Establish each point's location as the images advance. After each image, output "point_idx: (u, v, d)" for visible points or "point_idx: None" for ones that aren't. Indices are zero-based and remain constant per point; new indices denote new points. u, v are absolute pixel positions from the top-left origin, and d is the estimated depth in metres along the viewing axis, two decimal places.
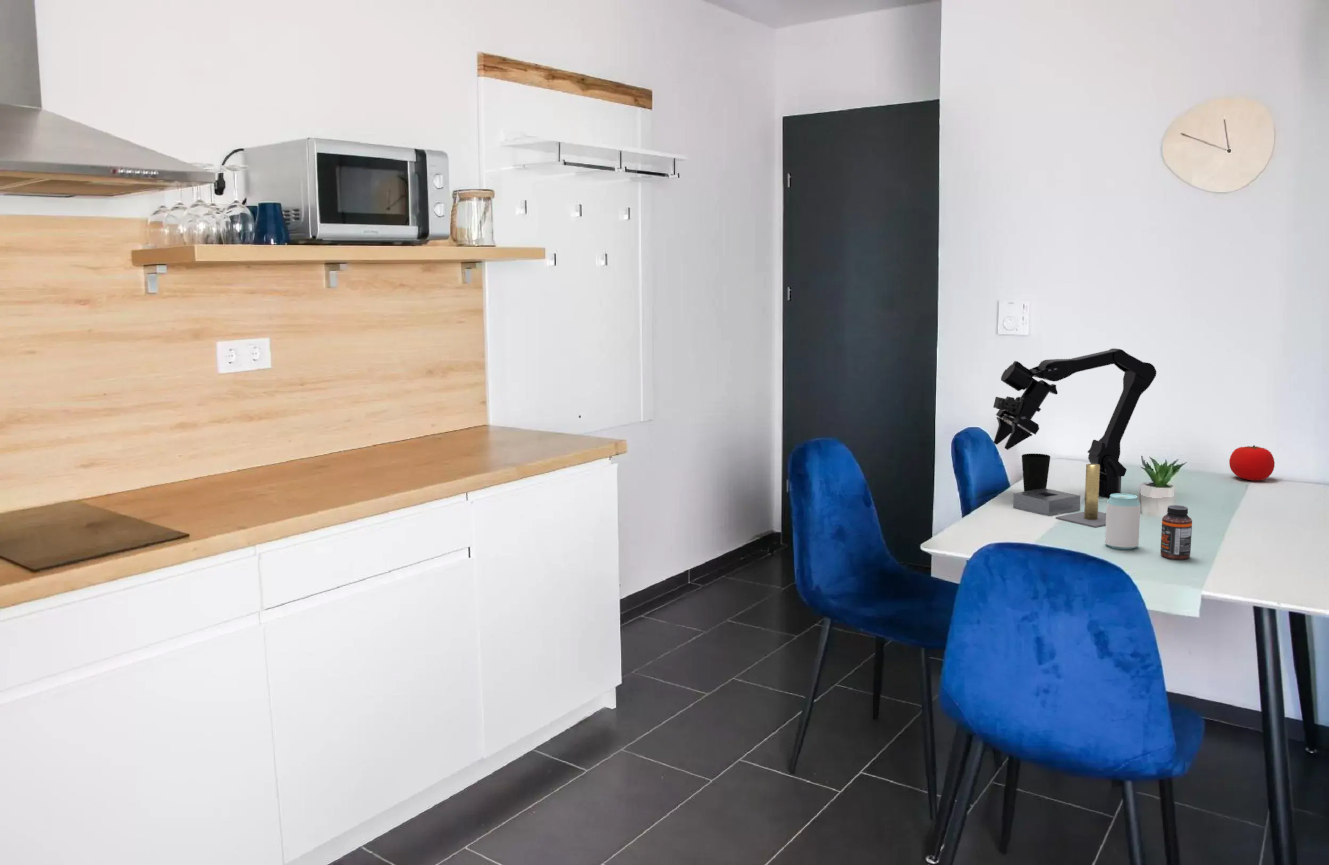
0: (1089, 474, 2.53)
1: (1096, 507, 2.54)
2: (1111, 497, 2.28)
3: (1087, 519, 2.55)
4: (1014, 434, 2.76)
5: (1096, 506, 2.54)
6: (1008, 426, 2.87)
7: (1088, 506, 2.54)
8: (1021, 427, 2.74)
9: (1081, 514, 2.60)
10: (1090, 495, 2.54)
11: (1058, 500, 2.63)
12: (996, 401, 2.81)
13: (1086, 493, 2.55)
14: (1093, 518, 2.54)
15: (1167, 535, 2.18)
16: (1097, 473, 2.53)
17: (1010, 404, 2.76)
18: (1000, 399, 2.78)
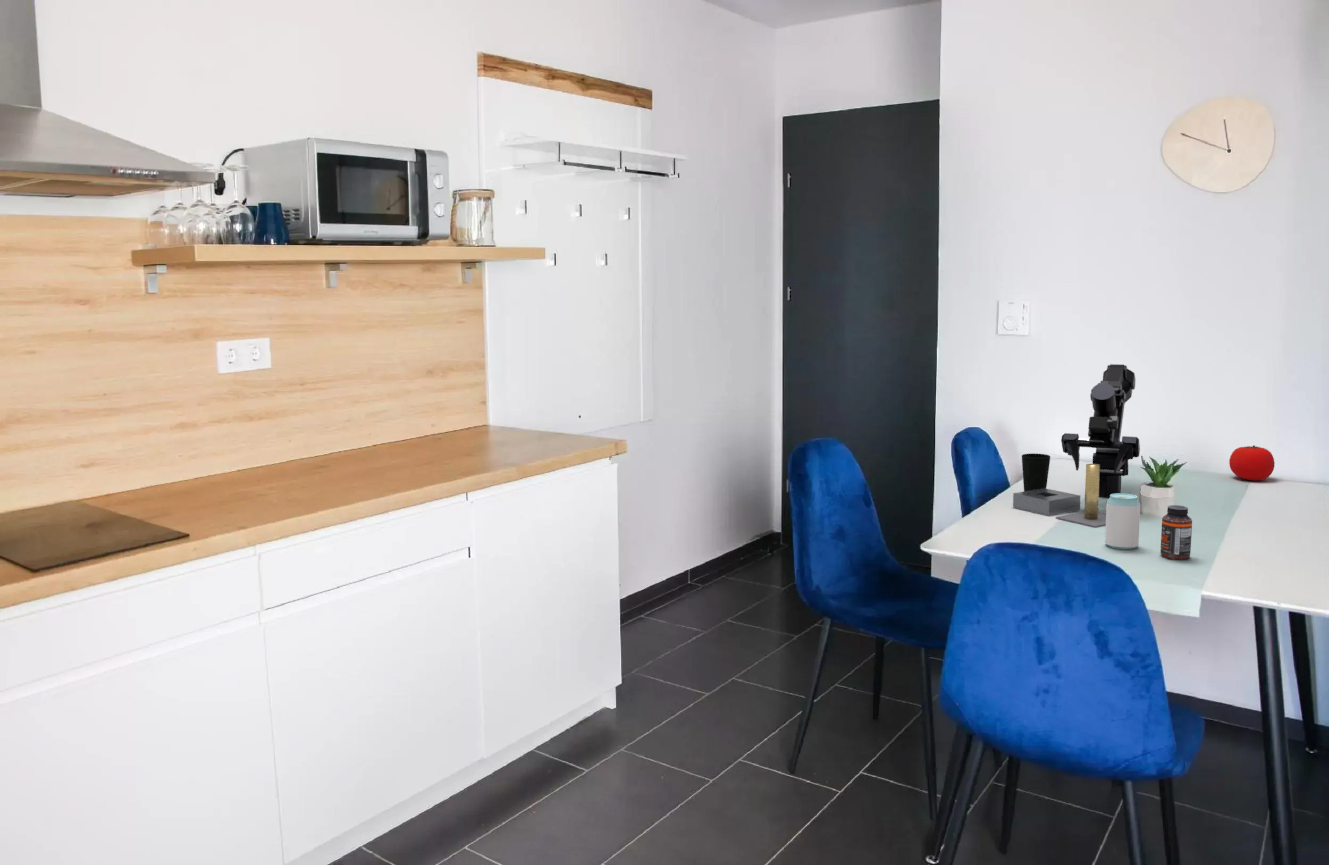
0: (1089, 474, 2.53)
1: (1096, 507, 2.54)
2: (1111, 497, 2.28)
3: (1087, 519, 2.55)
4: None
5: (1096, 506, 2.54)
6: (1078, 451, 2.65)
7: (1088, 506, 2.54)
8: None
9: (1081, 514, 2.60)
10: (1090, 495, 2.54)
11: (1058, 500, 2.63)
12: (1098, 421, 2.58)
13: (1086, 493, 2.55)
14: (1093, 518, 2.54)
15: (1167, 535, 2.19)
16: (1097, 473, 2.53)
17: (1117, 424, 2.58)
18: (1107, 418, 2.57)
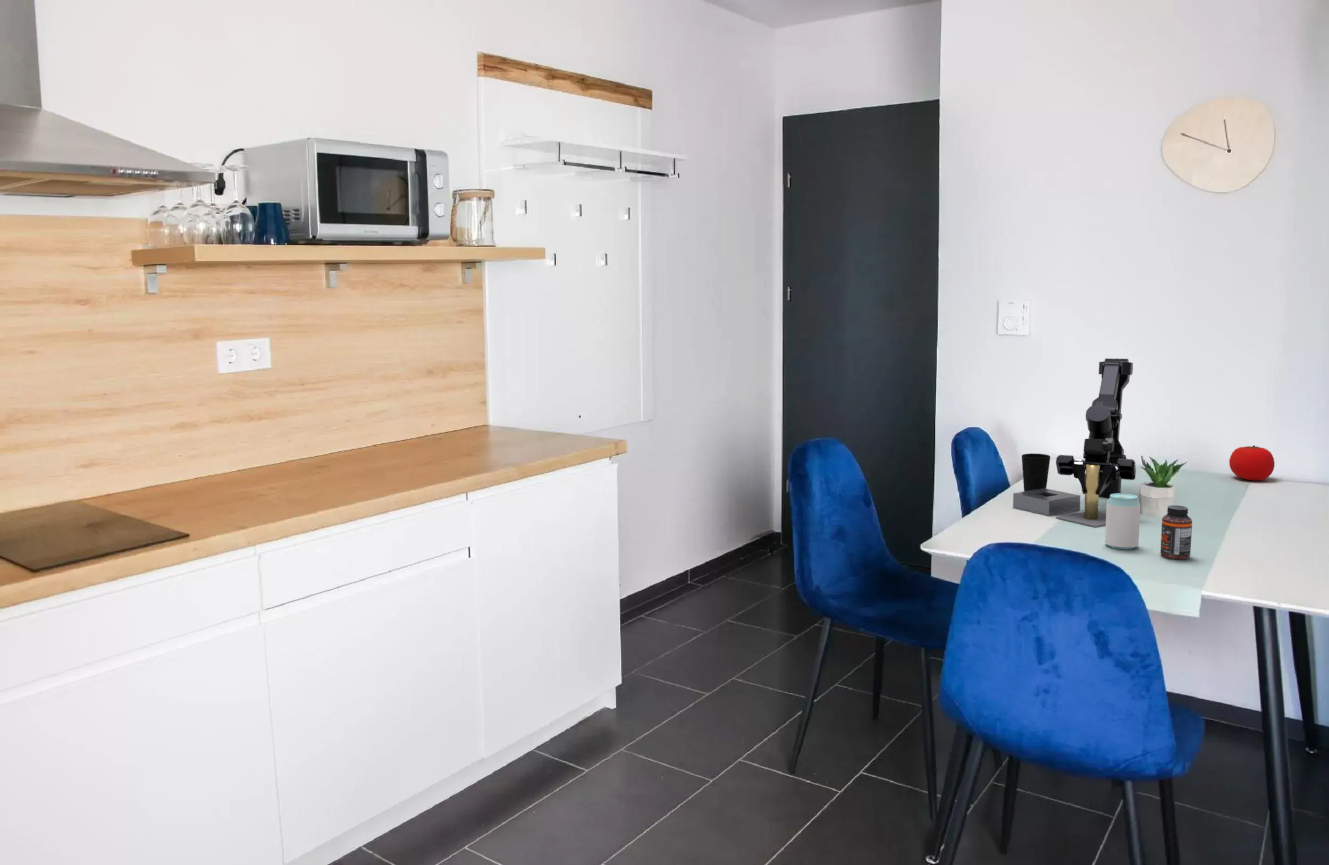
0: (1089, 474, 2.53)
1: (1096, 507, 2.54)
2: (1111, 497, 2.28)
3: (1087, 519, 2.55)
4: None
5: (1096, 506, 2.54)
6: (1085, 474, 2.58)
7: (1088, 506, 2.54)
8: (1116, 470, 2.54)
9: (1081, 514, 2.60)
10: (1090, 495, 2.54)
11: (1058, 500, 2.63)
12: (1093, 443, 2.53)
13: (1086, 493, 2.55)
14: (1093, 518, 2.54)
15: (1167, 535, 2.18)
16: (1097, 473, 2.53)
17: (1113, 447, 2.53)
18: (1102, 440, 2.52)
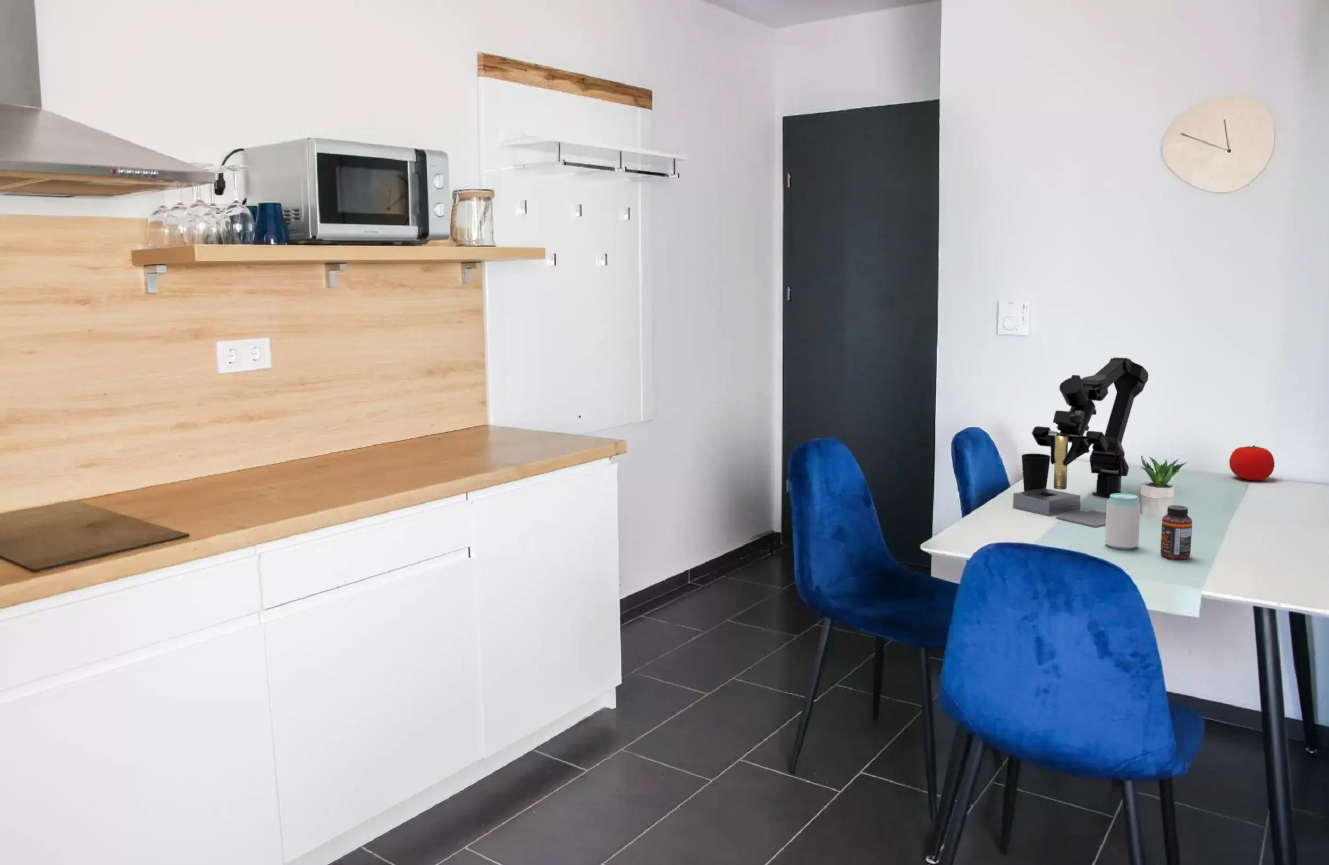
0: (1056, 445, 2.61)
1: (1063, 477, 2.62)
2: (1111, 497, 2.28)
3: (1087, 519, 2.55)
4: (1075, 449, 2.61)
5: (1064, 476, 2.62)
6: None
7: (1056, 476, 2.62)
8: (1085, 442, 2.60)
9: (1081, 514, 2.60)
10: (1057, 466, 2.62)
11: (1058, 500, 2.63)
12: (1061, 415, 2.61)
13: (1054, 463, 2.63)
14: (1060, 488, 2.62)
15: (1167, 535, 2.18)
16: (1064, 444, 2.60)
17: (1082, 419, 2.59)
18: (1070, 412, 2.59)
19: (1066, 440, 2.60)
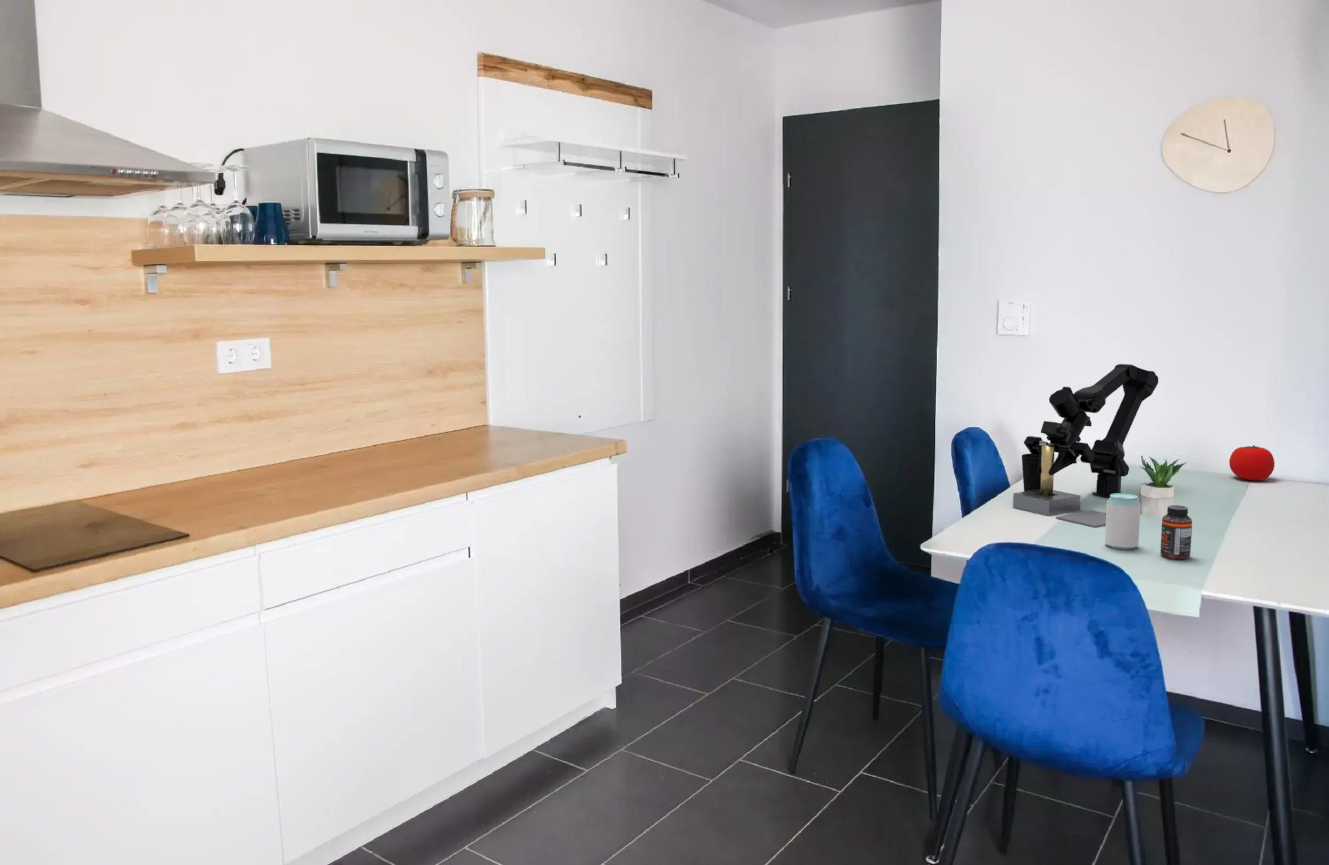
0: (1042, 455, 2.67)
1: (1049, 486, 2.67)
2: (1111, 497, 2.28)
3: (1087, 519, 2.55)
4: (1061, 460, 2.66)
5: (1049, 485, 2.67)
6: None
7: (1042, 485, 2.68)
8: (1071, 453, 2.65)
9: (1081, 514, 2.60)
10: (1043, 475, 2.67)
11: (1058, 500, 2.63)
12: (1048, 425, 2.66)
13: (1041, 472, 2.68)
14: None
15: (1167, 535, 2.18)
16: (1049, 454, 2.66)
17: (1068, 430, 2.64)
18: (1056, 423, 2.65)
19: (1052, 450, 2.66)
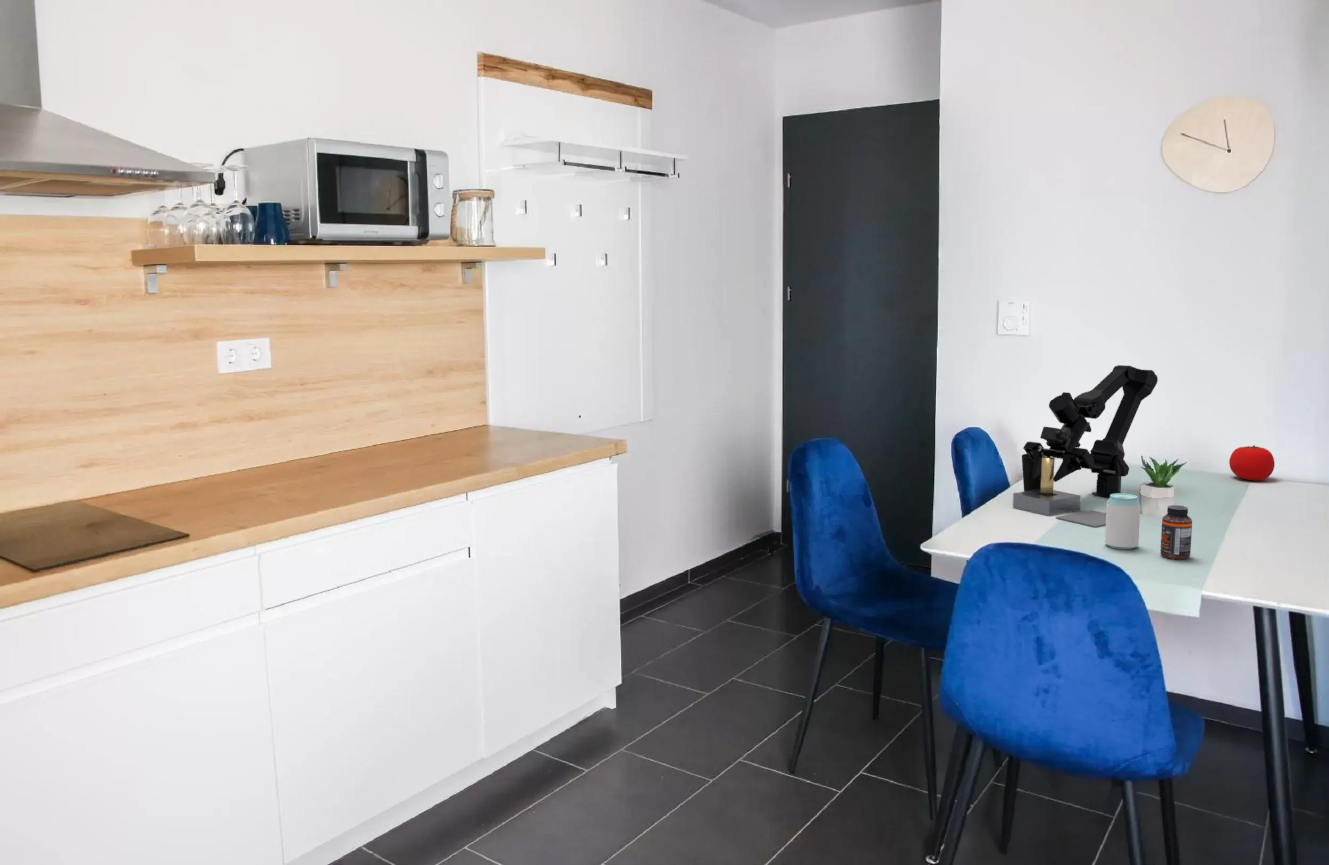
0: (1042, 466, 2.67)
1: None
2: (1111, 497, 2.28)
3: (1087, 519, 2.55)
4: (1065, 466, 2.65)
5: None
6: None
7: None
8: (1076, 459, 2.64)
9: (1081, 514, 2.60)
10: (1042, 486, 2.68)
11: (1058, 500, 2.63)
12: (1048, 431, 2.66)
13: None
14: None
15: (1167, 535, 2.18)
16: (1049, 466, 2.66)
17: (1067, 436, 2.64)
18: (1056, 429, 2.65)
19: (1052, 462, 2.66)
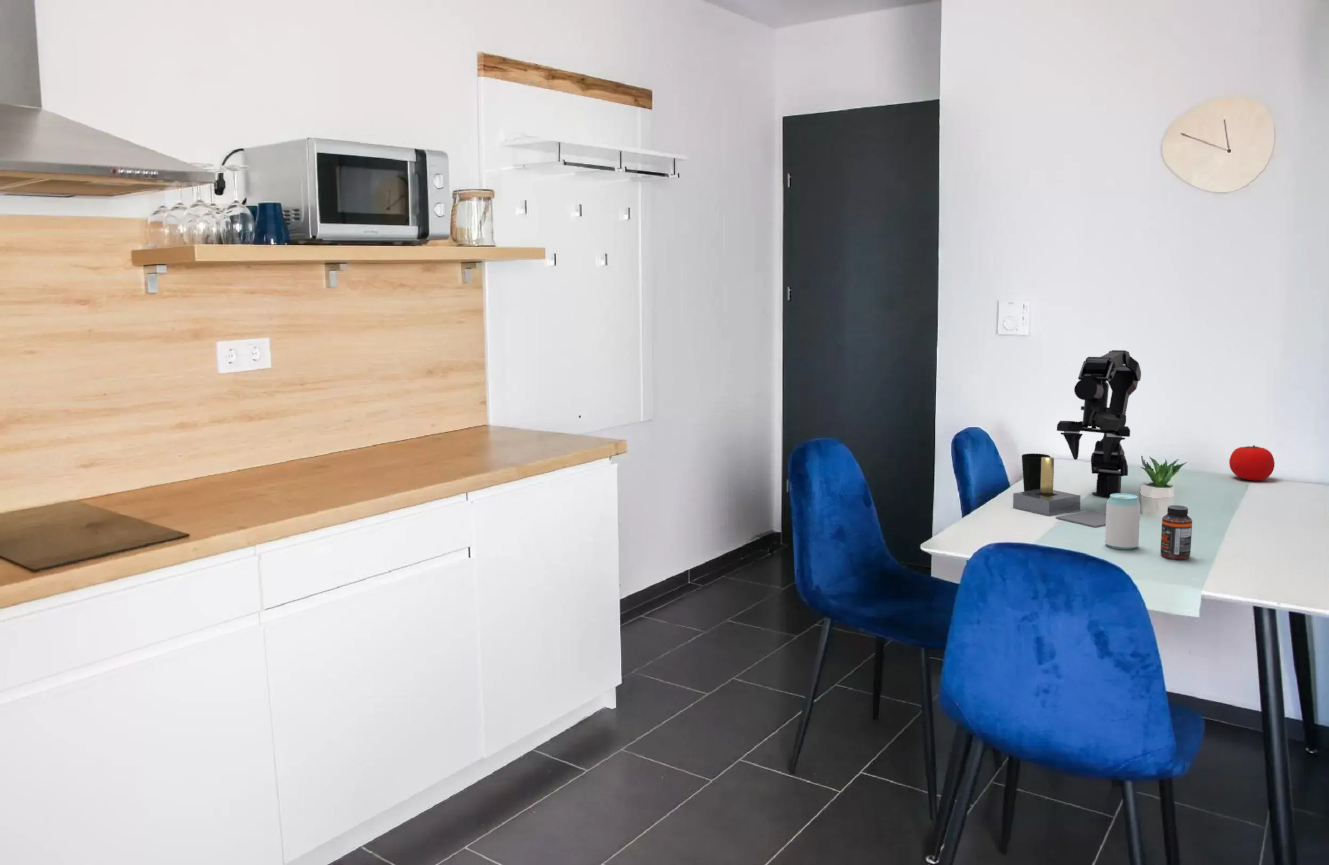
0: (1042, 467, 2.67)
1: None
2: (1111, 497, 2.28)
3: (1087, 519, 2.55)
4: None
5: None
6: None
7: None
8: None
9: (1081, 514, 2.60)
10: (1042, 487, 2.68)
11: (1058, 500, 2.63)
12: (1113, 424, 2.60)
13: None
14: None
15: (1167, 535, 2.18)
16: (1049, 466, 2.66)
17: None
18: (1120, 421, 2.61)
19: (1051, 462, 2.66)
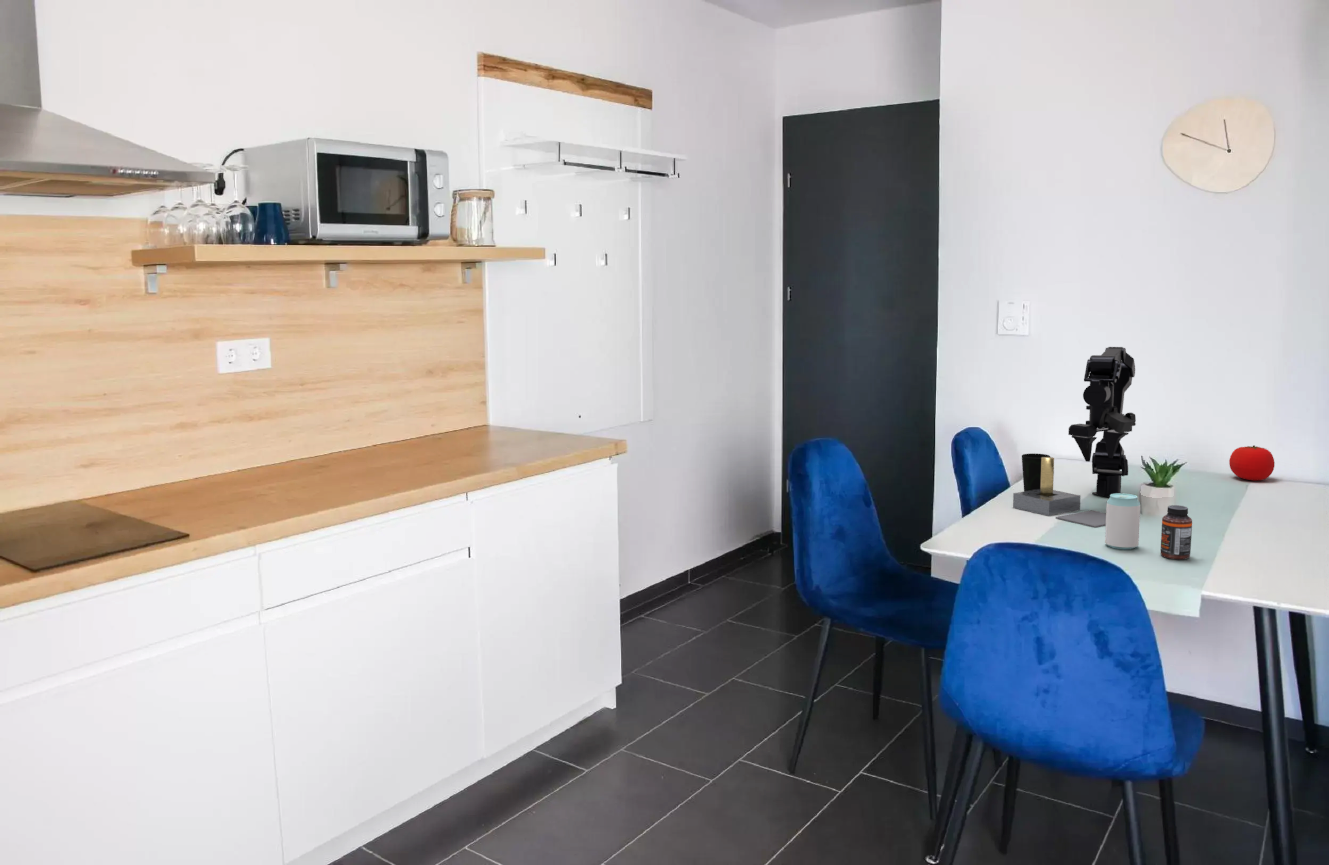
0: (1042, 467, 2.67)
1: None
2: (1111, 497, 2.28)
3: (1087, 519, 2.55)
4: None
5: None
6: None
7: None
8: None
9: (1081, 514, 2.60)
10: (1042, 487, 2.68)
11: (1058, 500, 2.63)
12: (1127, 426, 2.60)
13: None
14: None
15: (1167, 535, 2.18)
16: (1049, 466, 2.66)
17: None
18: (1132, 422, 2.61)
19: (1051, 462, 2.66)
